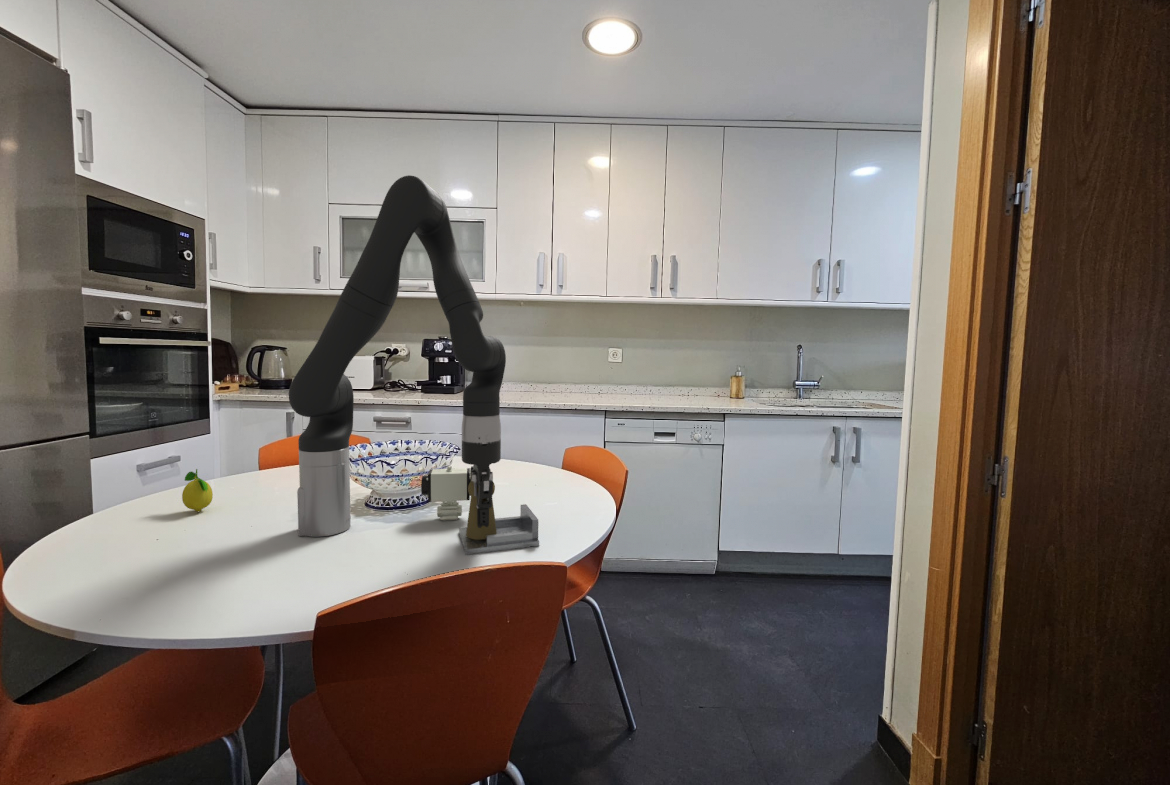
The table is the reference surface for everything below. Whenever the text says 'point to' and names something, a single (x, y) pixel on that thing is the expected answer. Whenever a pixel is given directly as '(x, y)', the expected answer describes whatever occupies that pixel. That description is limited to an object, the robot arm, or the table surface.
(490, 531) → the cork
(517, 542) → the bracket
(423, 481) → the pneumatic valve
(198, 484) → the lemon
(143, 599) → the table surface
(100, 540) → the table surface
